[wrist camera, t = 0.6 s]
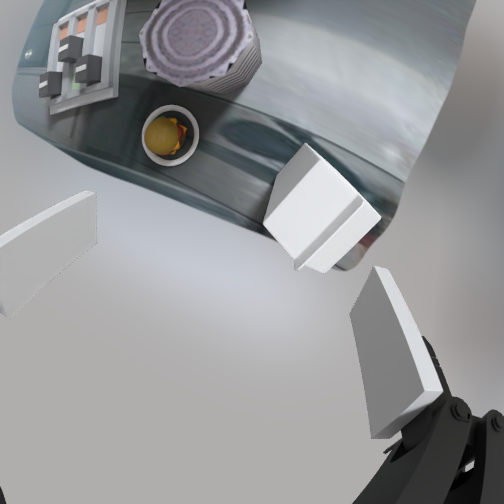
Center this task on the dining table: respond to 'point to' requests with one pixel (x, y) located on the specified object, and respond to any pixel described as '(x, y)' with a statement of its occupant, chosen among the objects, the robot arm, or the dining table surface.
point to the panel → (95, 43)
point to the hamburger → (167, 135)
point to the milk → (316, 212)
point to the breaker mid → (70, 49)
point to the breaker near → (88, 69)
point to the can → (201, 44)
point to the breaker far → (50, 84)
